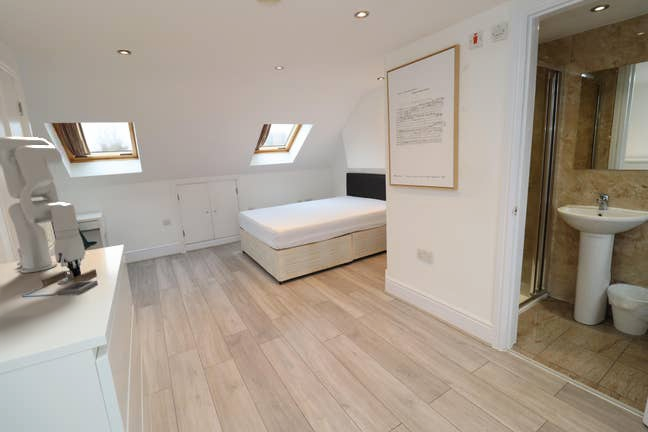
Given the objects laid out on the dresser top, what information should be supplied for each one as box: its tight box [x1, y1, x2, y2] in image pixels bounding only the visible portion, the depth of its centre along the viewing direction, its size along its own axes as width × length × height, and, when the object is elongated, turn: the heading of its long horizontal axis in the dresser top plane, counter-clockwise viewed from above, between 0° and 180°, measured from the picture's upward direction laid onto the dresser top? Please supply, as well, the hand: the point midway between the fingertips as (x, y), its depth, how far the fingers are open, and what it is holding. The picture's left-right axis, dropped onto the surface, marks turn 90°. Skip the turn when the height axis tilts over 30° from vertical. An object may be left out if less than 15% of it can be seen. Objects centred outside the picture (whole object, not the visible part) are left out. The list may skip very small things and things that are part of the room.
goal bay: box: [21, 285, 57, 298], centre depth 113 cm, size 12×9×1 cm
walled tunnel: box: [41, 268, 97, 287], centre depth 123 cm, size 14×10×2 cm
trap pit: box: [56, 280, 98, 296], centre depth 113 cm, size 8×9×2 cm
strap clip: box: [57, 270, 75, 285], centre depth 123 cm, size 8×3×4 cm, turn 172°
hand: (76, 275), depth 126 cm, fingers closed
